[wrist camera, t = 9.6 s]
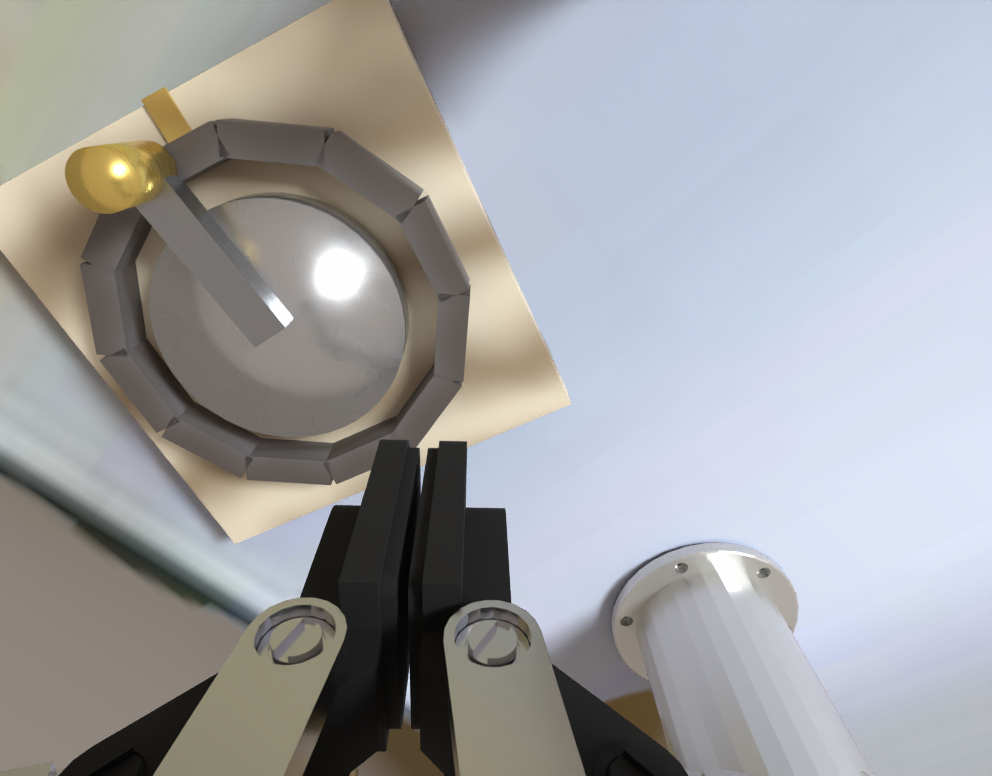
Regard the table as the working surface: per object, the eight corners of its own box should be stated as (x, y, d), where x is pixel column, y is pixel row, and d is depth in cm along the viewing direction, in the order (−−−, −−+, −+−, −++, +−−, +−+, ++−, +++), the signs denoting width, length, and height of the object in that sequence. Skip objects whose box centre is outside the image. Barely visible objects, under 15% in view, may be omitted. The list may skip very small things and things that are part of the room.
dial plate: (566, 389, 37) (576, 421, 33) (246, 523, 40) (222, 566, 37) (379, -21, 28) (364, -38, 25) (-9, 195, 32) (-72, 208, 28)
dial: (454, 348, 33) (449, 398, 28) (276, 455, 36) (239, 520, 30) (253, 62, 27) (197, 53, 22) (57, 213, 30) (-38, 239, 24)
